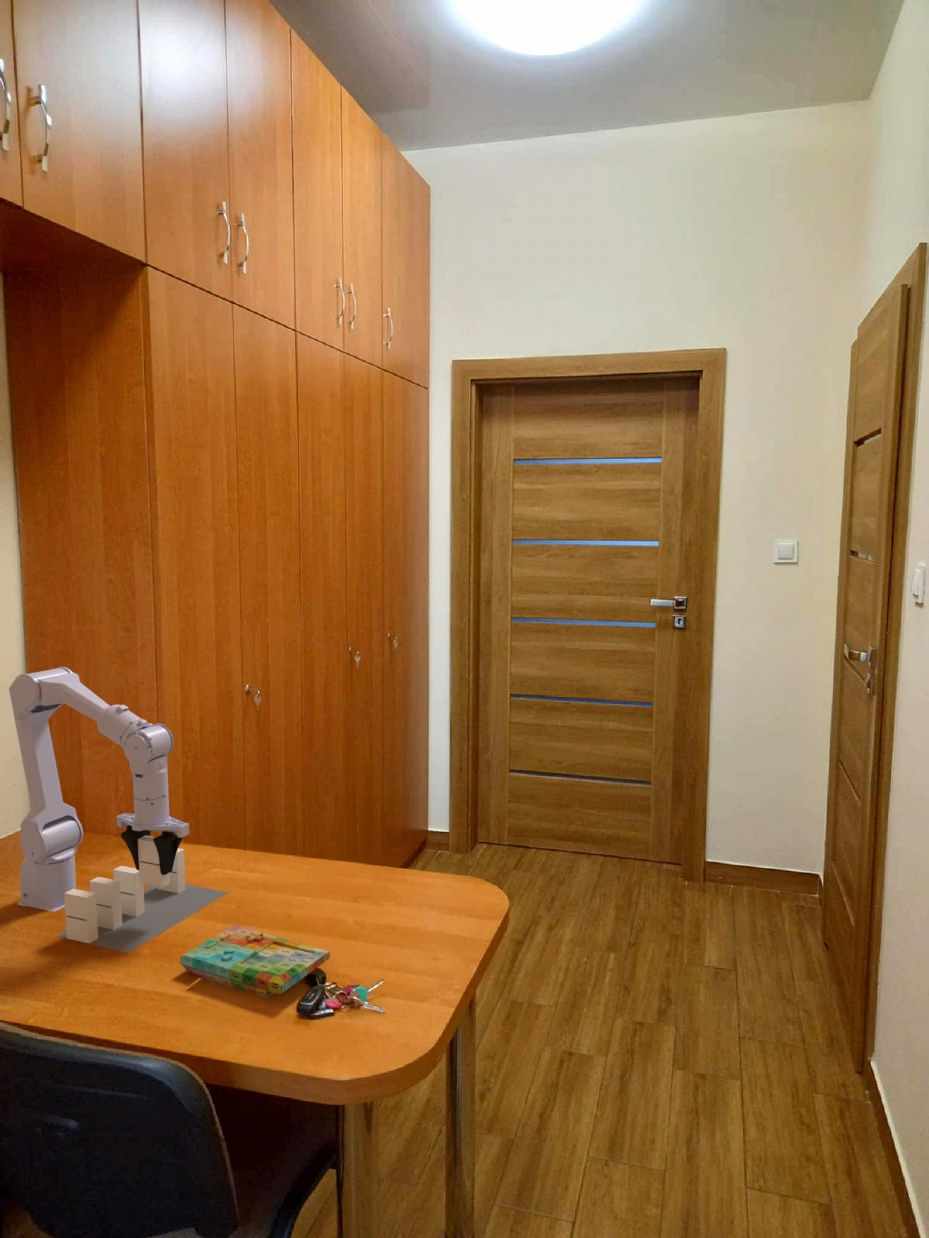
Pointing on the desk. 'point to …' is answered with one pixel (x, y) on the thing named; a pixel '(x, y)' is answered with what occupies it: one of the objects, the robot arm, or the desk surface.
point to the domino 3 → (130, 890)
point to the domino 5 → (177, 874)
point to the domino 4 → (150, 863)
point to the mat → (154, 917)
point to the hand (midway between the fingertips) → (154, 870)
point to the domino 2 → (107, 902)
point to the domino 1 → (81, 915)
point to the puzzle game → (253, 961)
